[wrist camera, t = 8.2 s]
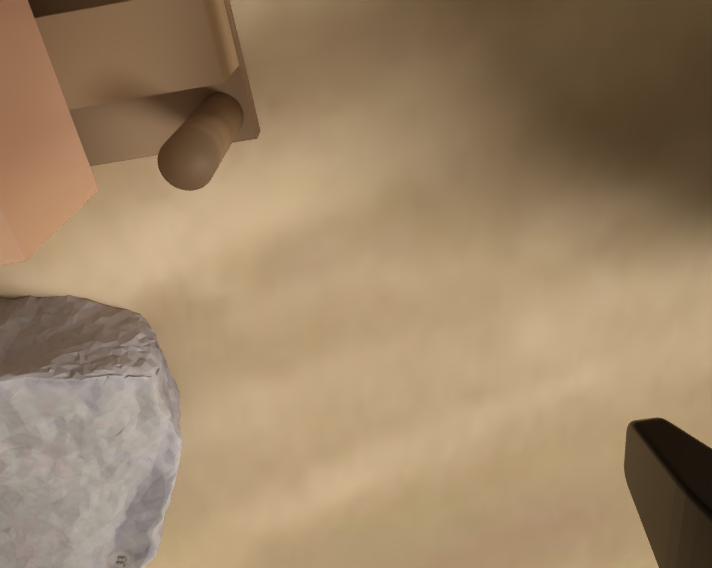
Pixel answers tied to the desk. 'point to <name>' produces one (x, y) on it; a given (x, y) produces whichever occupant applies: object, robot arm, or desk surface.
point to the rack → (151, 81)
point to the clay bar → (34, 141)
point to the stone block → (83, 435)
